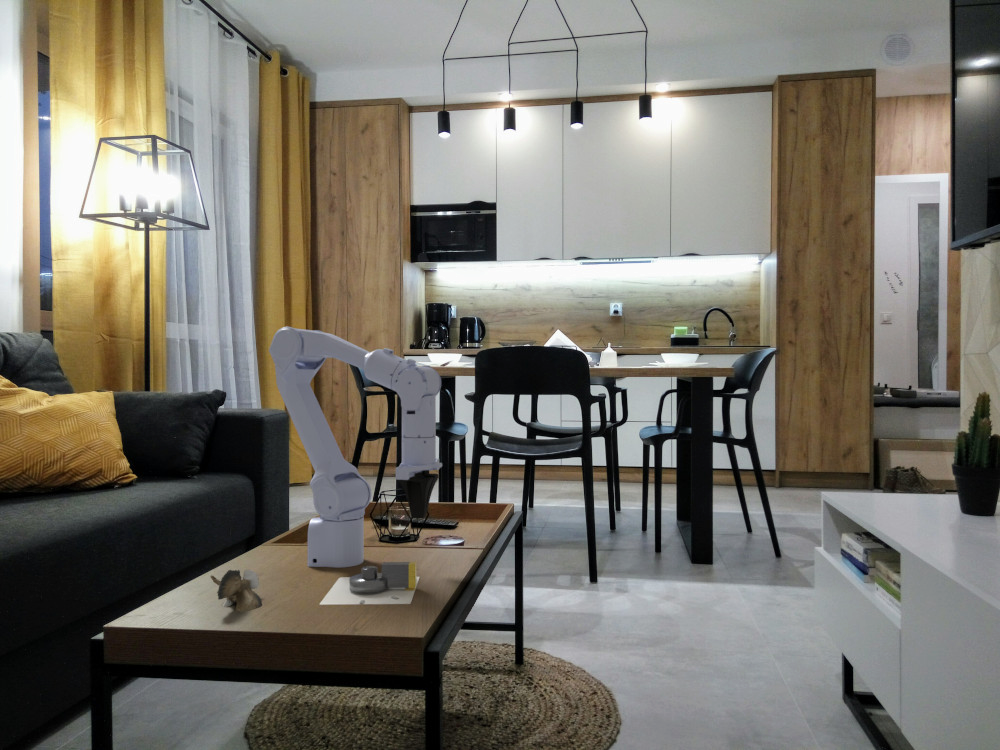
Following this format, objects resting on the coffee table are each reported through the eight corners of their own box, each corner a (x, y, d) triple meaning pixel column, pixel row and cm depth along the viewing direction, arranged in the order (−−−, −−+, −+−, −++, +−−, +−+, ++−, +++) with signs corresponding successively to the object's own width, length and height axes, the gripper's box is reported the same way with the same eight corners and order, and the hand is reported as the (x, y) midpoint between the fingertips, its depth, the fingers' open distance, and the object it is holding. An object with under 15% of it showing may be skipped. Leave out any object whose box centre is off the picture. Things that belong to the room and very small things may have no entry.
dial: (345, 593, 103) (345, 568, 103) (353, 582, 109) (353, 558, 109) (413, 593, 103) (413, 568, 103) (418, 581, 109) (418, 558, 109)
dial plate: (319, 611, 99) (319, 603, 99) (339, 583, 113) (339, 576, 113) (410, 610, 99) (410, 602, 99) (419, 582, 113) (419, 575, 113)
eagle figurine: (194, 602, 100) (203, 607, 92) (222, 556, 103) (233, 557, 95) (242, 624, 102) (254, 631, 95) (267, 578, 105) (282, 581, 98)
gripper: (424, 440, 109) (424, 526, 109) (455, 434, 123) (455, 510, 123) (383, 439, 111) (383, 524, 111) (418, 433, 125) (418, 509, 125)
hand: (418, 517), depth 117 cm, fingers closed
